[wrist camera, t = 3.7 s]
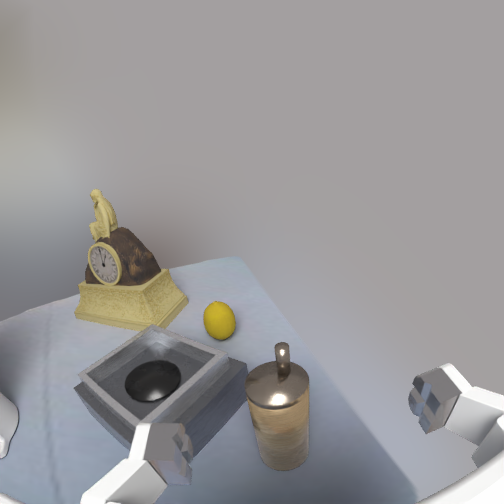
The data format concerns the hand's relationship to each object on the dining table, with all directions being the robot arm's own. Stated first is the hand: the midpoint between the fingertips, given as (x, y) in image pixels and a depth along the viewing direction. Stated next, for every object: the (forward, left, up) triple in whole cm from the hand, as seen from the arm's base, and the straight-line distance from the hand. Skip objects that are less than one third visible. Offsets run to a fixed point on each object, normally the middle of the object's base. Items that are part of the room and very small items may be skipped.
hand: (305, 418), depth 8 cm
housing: (+8, +25, -23) cm, 35 cm away
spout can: (+10, +7, -24) cm, 27 cm away
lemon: (+26, +28, -24) cm, 45 cm away
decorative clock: (+23, +57, -24) cm, 66 cm away
